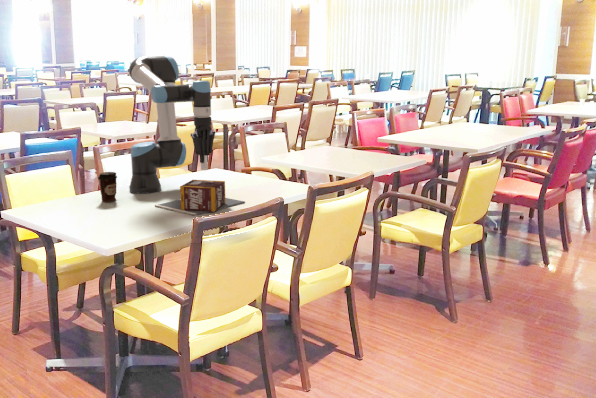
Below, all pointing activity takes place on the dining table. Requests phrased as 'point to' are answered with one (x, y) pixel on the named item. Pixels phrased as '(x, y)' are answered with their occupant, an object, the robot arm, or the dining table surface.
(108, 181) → the coffee cup
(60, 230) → the dining table surface
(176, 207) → the mat
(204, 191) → the supplement box
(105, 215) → the dining table surface
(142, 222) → the dining table surface
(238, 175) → the dining table surface
